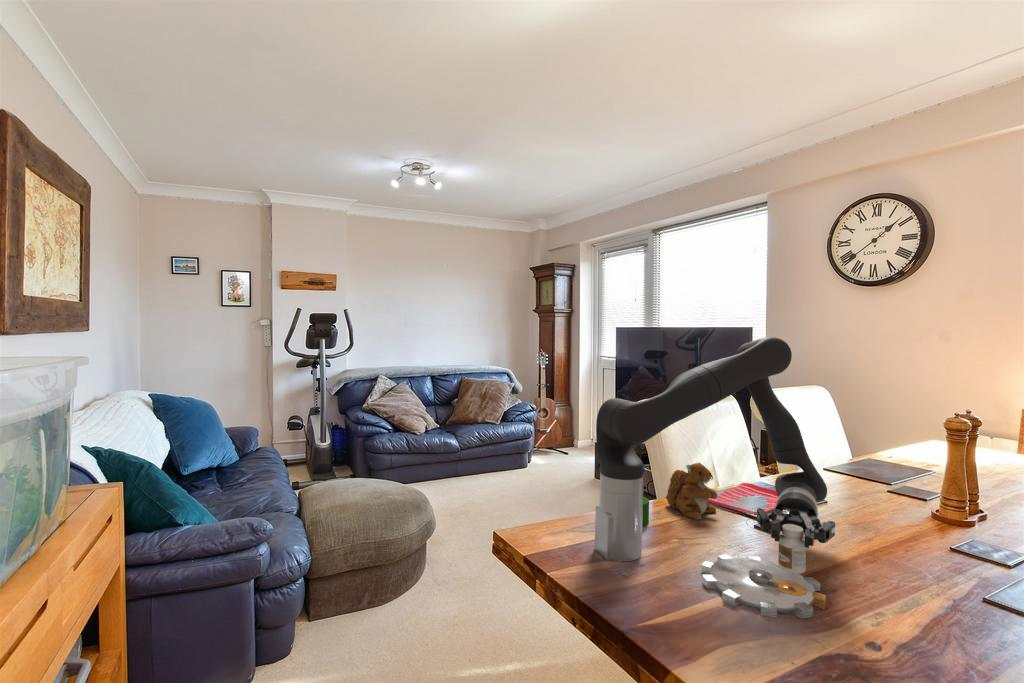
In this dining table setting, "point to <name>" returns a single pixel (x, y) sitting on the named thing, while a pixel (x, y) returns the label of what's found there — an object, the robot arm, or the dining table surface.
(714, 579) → the sprocket plate
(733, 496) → the dish towel
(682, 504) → the stuffed squirrel
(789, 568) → the pill bottle
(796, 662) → the dining table surface
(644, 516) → the candle
